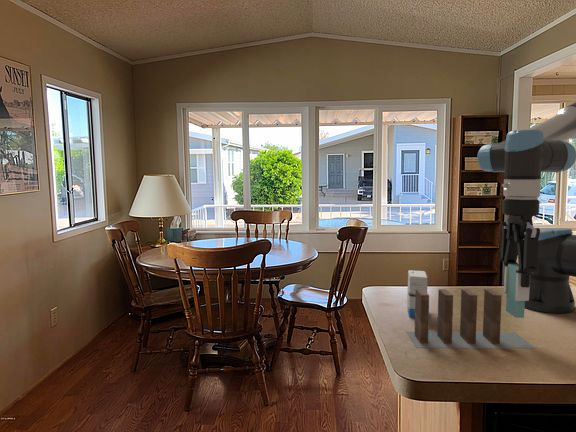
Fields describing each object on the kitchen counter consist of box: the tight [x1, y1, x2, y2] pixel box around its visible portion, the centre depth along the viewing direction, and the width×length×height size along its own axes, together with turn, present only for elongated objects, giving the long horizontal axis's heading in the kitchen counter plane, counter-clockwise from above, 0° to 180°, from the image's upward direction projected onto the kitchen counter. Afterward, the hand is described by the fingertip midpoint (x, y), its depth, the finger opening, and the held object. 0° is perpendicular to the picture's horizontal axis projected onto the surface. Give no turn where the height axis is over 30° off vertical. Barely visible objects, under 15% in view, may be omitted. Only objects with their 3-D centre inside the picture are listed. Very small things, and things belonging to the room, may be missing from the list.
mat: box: [405, 331, 536, 349], centre depth 106 cm, size 27×10×1 cm, turn 88°
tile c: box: [459, 288, 478, 344], centre depth 105 cm, size 2×5×12 cm, turn 178°
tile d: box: [436, 288, 454, 344], centre depth 105 cm, size 2×5×12 cm, turn 178°
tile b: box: [482, 288, 503, 344], centre depth 105 cm, size 2×5×12 cm, turn 178°
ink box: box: [406, 269, 428, 318], centre depth 125 cm, size 8×5×12 cm, turn 168°
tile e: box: [414, 289, 430, 344], centre depth 106 cm, size 2×5×12 cm, turn 178°
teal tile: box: [505, 264, 526, 319], centre depth 104 cm, size 2×5×12 cm, turn 178°
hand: (515, 296), depth 104 cm, fingers closed on teal tile, 5 cm apart
